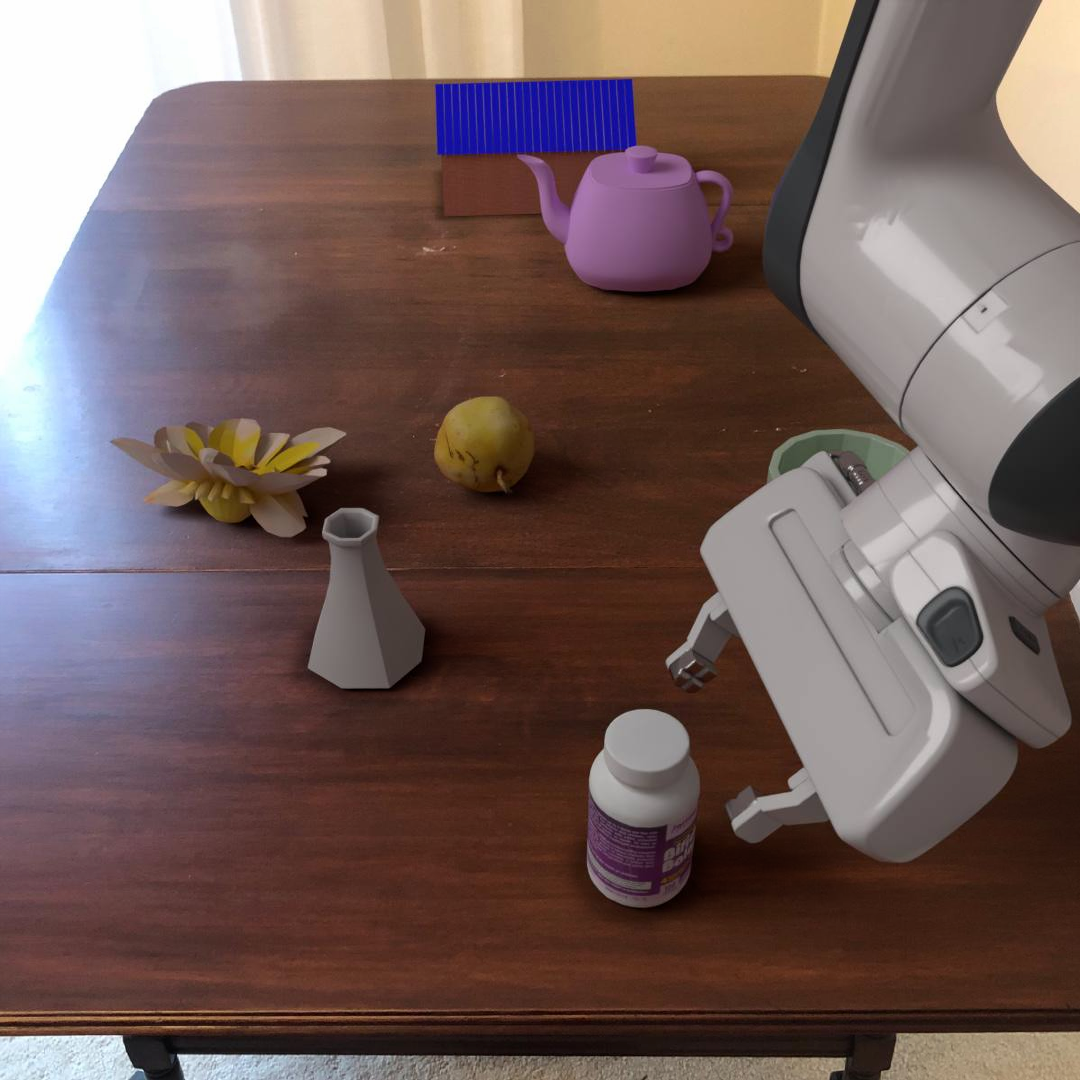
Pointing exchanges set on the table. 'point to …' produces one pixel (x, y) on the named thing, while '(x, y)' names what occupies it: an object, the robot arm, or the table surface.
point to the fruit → (484, 444)
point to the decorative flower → (236, 470)
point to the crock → (867, 446)
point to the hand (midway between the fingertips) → (705, 748)
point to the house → (525, 139)
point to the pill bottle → (642, 809)
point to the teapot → (636, 220)
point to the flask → (363, 611)
